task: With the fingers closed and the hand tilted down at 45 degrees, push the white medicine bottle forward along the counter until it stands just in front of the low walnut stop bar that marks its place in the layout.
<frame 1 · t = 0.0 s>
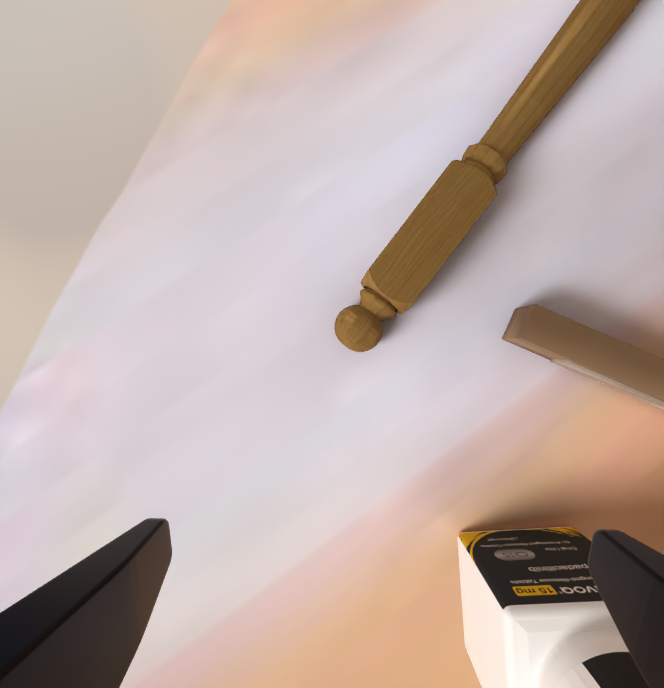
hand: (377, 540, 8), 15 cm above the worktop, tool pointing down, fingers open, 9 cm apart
medicine bottle: (516, 583, 23), on the worktop
tap handle: (490, 156, 24), on the worktop
stop bar: (615, 370, 23), on the worktop
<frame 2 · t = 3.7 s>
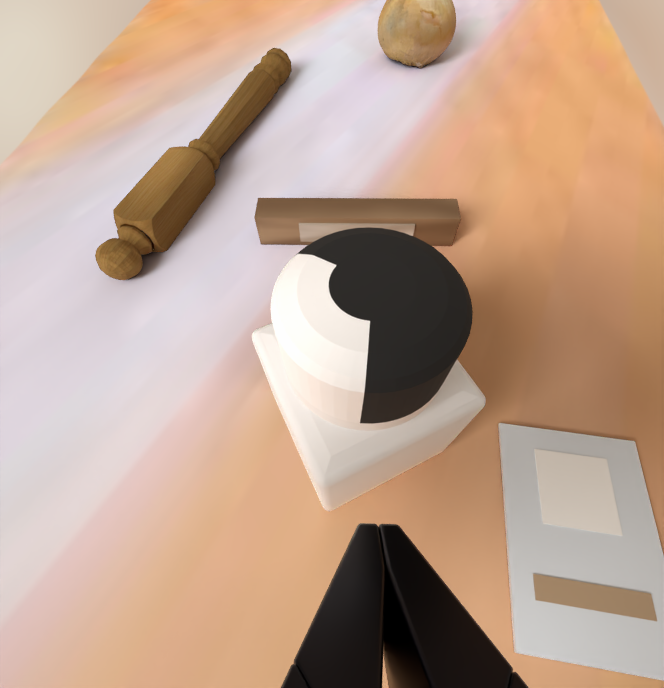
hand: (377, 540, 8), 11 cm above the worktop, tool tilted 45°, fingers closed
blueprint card: (580, 534, 18), on the worktop
onion: (411, 60, 42), on the worktop
medicine bottle: (355, 422, 21), on the worktop
tap handle: (218, 163, 34), on the worktop
stop bar: (355, 235, 28), on the worktop
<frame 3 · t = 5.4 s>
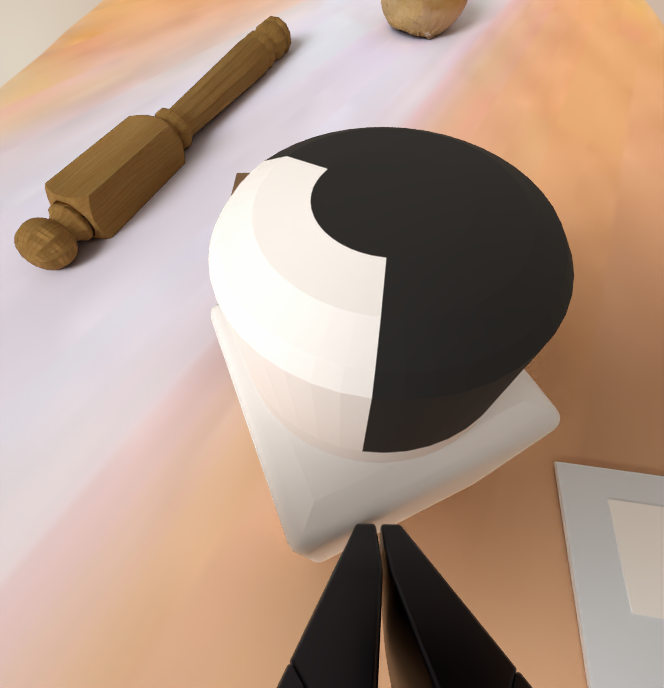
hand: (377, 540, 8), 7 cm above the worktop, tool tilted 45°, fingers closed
onion: (418, 32, 37), on the worktop
medicine bottle: (358, 439, 16), on the worktop, touching gripper
tap handle: (194, 141, 29), on the worktop
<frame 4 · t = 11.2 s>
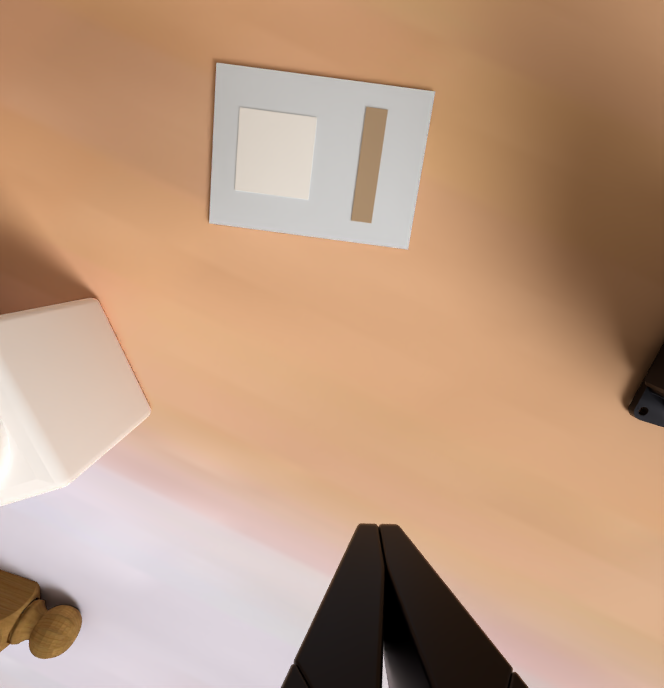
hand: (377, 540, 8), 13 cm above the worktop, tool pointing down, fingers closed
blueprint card: (317, 161, 18), on the worktop
medicine bottle: (74, 373, 22), on the worktop
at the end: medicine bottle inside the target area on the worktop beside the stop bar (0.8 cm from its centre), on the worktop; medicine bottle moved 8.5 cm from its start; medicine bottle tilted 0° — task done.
